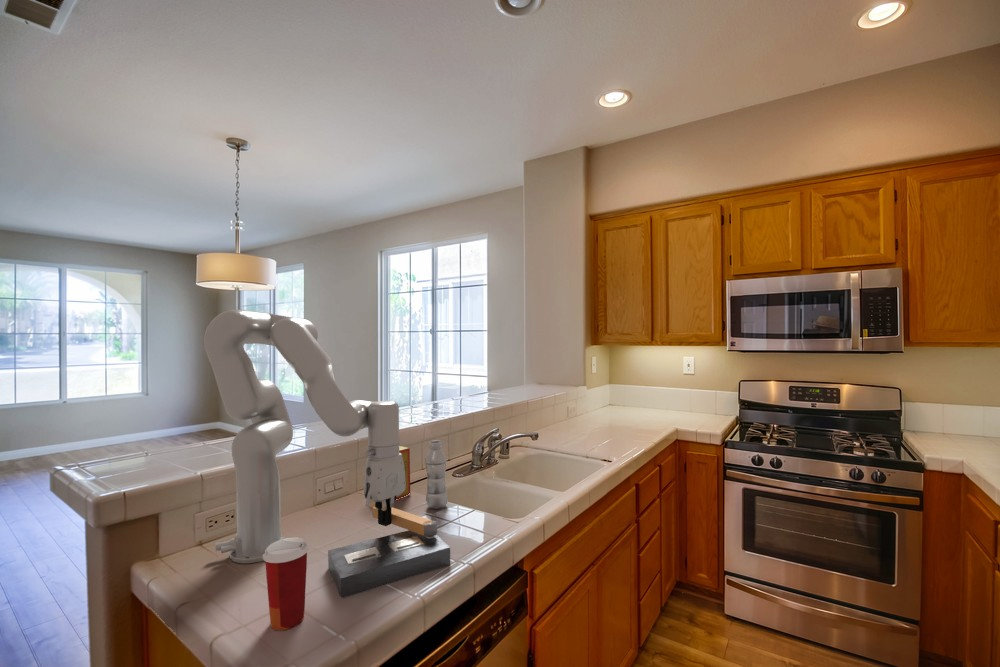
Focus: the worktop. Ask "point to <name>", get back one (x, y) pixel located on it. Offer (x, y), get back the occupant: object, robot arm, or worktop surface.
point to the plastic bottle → (436, 476)
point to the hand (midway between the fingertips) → (384, 523)
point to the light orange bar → (411, 522)
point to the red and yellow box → (406, 460)
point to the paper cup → (286, 581)
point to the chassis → (385, 561)
